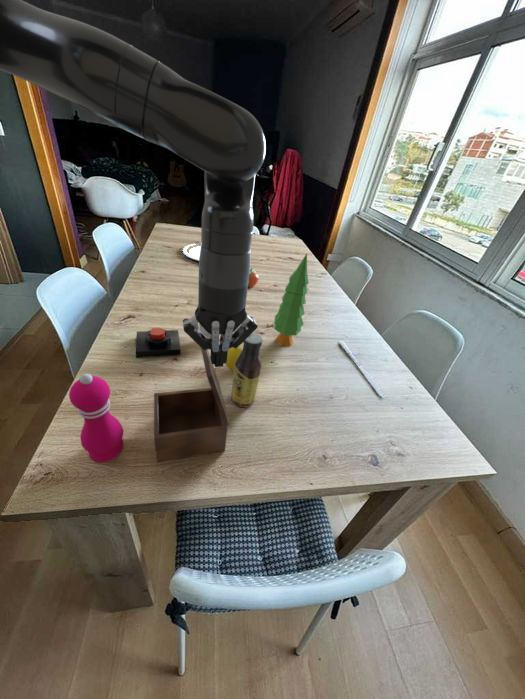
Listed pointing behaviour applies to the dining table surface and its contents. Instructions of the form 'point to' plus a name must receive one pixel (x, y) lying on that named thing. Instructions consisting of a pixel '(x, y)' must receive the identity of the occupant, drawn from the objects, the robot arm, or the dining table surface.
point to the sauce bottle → (247, 372)
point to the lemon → (232, 357)
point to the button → (157, 333)
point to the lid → (215, 385)
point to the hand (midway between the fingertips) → (218, 363)
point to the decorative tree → (292, 305)
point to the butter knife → (362, 369)
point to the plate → (192, 252)
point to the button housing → (157, 344)
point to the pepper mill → (97, 418)
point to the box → (187, 424)
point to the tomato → (253, 278)
